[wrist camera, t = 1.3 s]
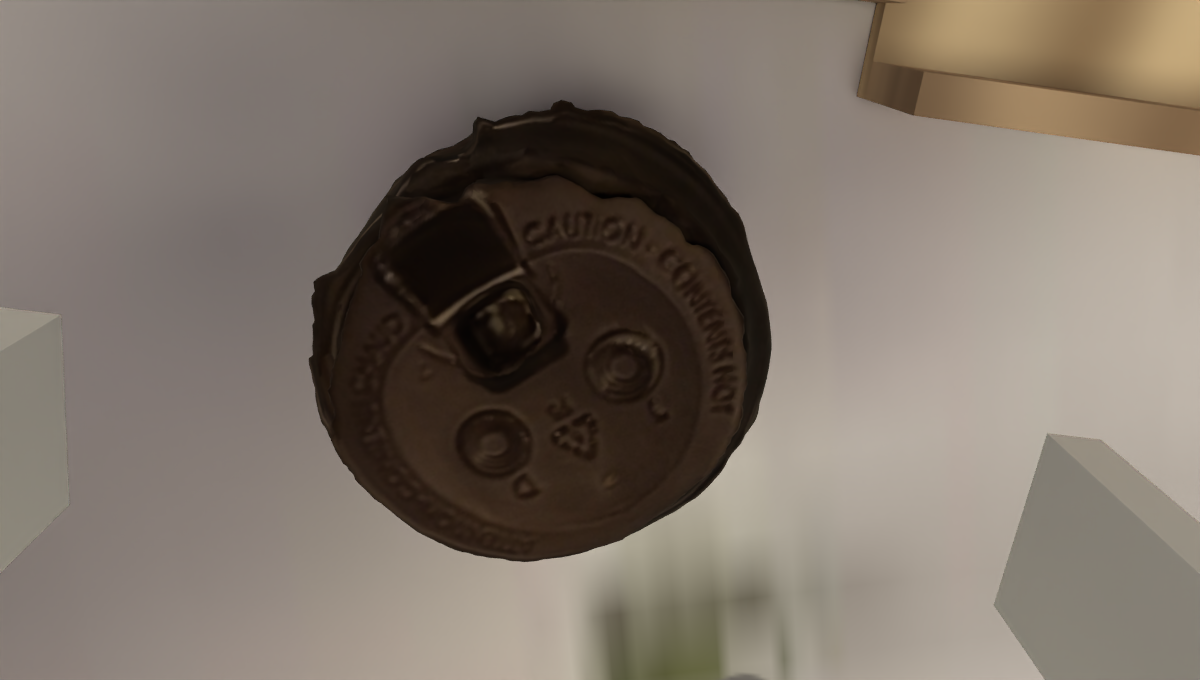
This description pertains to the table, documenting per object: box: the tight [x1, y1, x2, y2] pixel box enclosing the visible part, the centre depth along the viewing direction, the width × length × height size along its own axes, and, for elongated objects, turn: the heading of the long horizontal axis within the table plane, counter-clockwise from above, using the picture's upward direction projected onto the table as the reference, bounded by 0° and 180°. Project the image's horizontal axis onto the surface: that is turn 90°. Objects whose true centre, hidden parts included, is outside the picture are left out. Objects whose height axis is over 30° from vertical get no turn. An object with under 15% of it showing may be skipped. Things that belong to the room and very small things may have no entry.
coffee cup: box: [309, 100, 771, 562], centre depth 22 cm, size 9×8×13 cm
